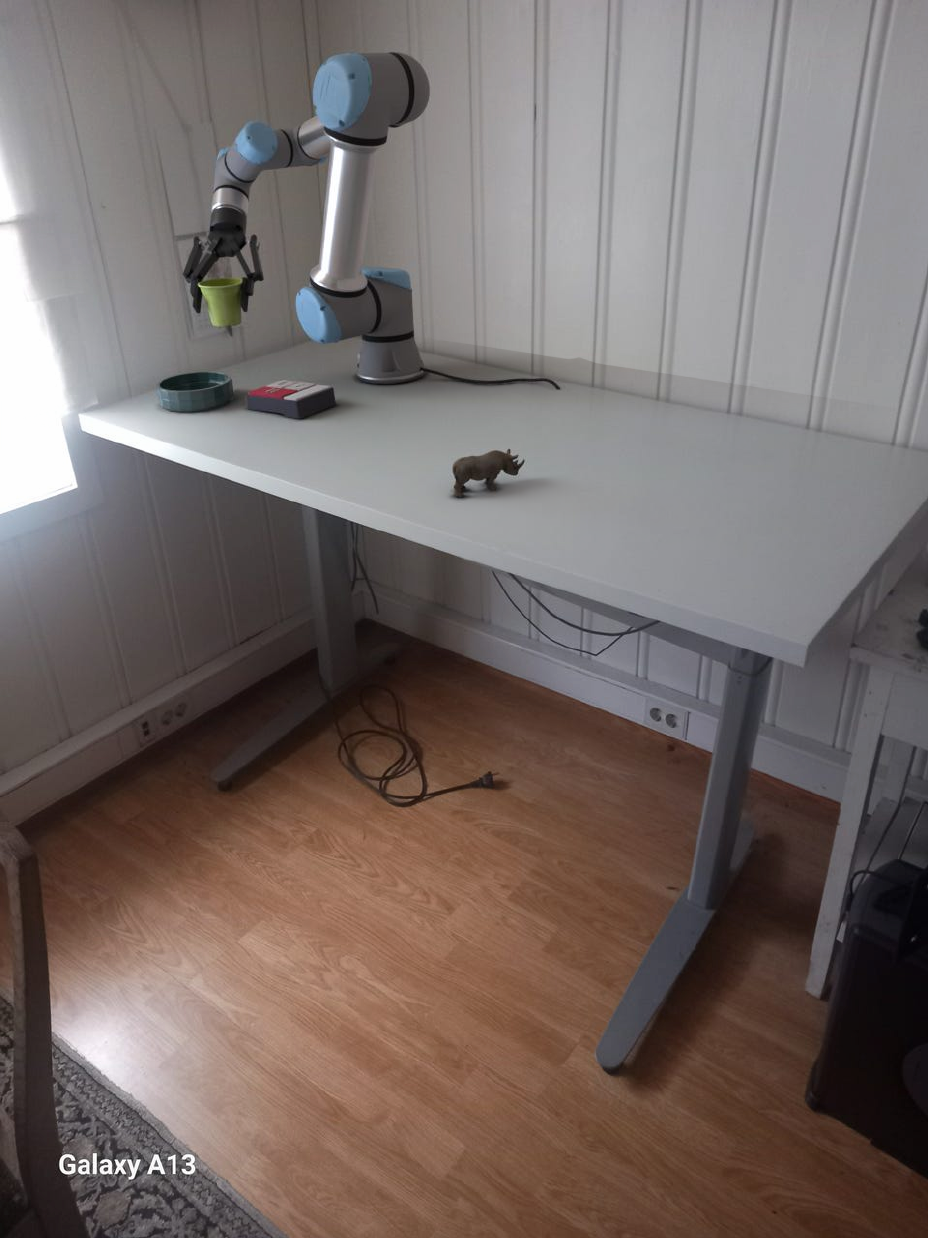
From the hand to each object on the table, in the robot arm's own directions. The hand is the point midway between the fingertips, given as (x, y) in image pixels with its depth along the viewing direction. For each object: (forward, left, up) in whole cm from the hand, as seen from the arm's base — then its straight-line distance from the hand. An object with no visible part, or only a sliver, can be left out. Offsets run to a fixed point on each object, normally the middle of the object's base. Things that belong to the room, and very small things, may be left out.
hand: (220, 308), depth 201 cm
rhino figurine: (-80, +14, -18) cm, 83 cm away
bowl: (+2, +8, -18) cm, 20 cm away
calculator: (-19, 0, -18) cm, 26 cm away
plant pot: (+2, -3, -4) cm, 5 cm away
